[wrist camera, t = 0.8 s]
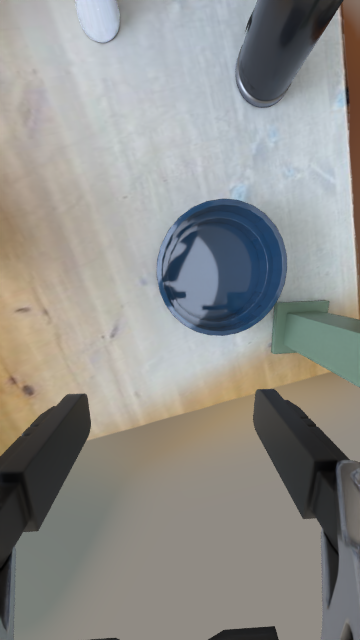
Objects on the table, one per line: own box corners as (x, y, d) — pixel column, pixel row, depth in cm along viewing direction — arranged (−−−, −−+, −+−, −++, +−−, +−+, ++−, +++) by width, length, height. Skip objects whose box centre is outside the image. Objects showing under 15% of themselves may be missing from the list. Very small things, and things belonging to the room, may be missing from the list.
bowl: (231, 188, 34) (245, 167, 28) (285, 286, 39) (308, 288, 32) (135, 259, 35) (129, 254, 29) (198, 345, 40) (204, 358, 34)
